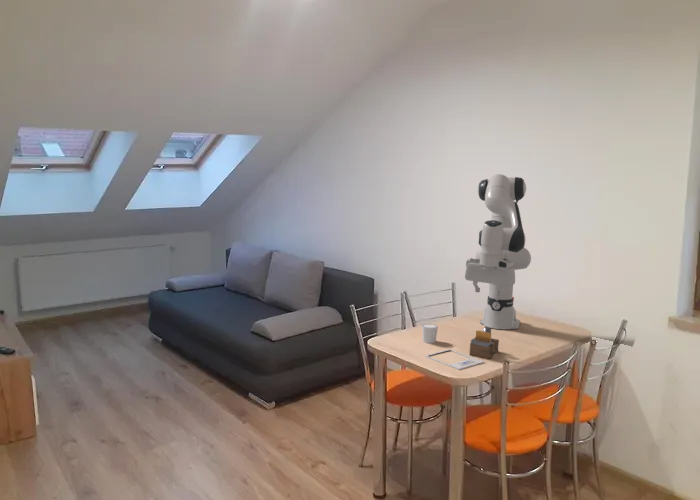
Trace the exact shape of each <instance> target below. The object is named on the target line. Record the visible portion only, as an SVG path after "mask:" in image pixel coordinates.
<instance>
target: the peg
mask: <svg viewBox="0 0 700 500" xmlns="http://www.w3.org/2000/svg"><path fill="white" fill-rule="evenodd" d="M483 332H489V333H491V334H492V328H490V327H487V326H485V327H483Z"/></svg>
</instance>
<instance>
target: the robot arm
mask: <svg viewBox="0 0 700 500" xmlns="http://www.w3.org/2000/svg"><path fill="white" fill-rule="evenodd" d="M526 185H527V184H526V182H525V180H524V179H523V178H522V177H517V176H515V177H507V176H506V175H504V174H499V173H498V174H494V175H492V176H490V178H489V179H488V178H486V179H483V180H481V181H480V182H479V183H478V186H477V194H478V198H479V199H480V200H481V201H484V203H485V207H486V209H488V210H489V211H490V212H491V220H486V221H484V222H483V225H482V229H481V230H480V231H479V232H478V245H479V246H480V248H478V250H477V251H476V253H475V258H472V257H471V258H469V259H467V260H466V261H465V267H466V269H465V274H464V278H465V281H469V282H472V284H473V286H474V289H475V290H474V291H475V293H480V292H481V287H479V285H478V283H485V284H488V296H487V298H486V299H487V300H486V301H487V302H486V303H487V305H485V306H484V308H483V313H482V319H480V320H479V323H480V324H482V325H483V326H485V327H488V328H491V329H495V330H518V329H519V328H520V324H521V321H520V319H517V311H516V309H515V307H514V301H515V297H514V296H513V294H514V293H513V291H514V285H515V283H516V270H517V271H518V270H524V269H527V268H528V267H529V266H530V264H531V261H532V257H531V252H530V251H529V250H528V249H527V247H525V246H526V236H525V232H524V228H523V223H522V222H523V221H522V218H521V213H520V208H519V207H520V206H519V205H518V202H519V201H521V200H522V199H523V198H524V197H525V194H526V191H527V186H526Z"/></svg>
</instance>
